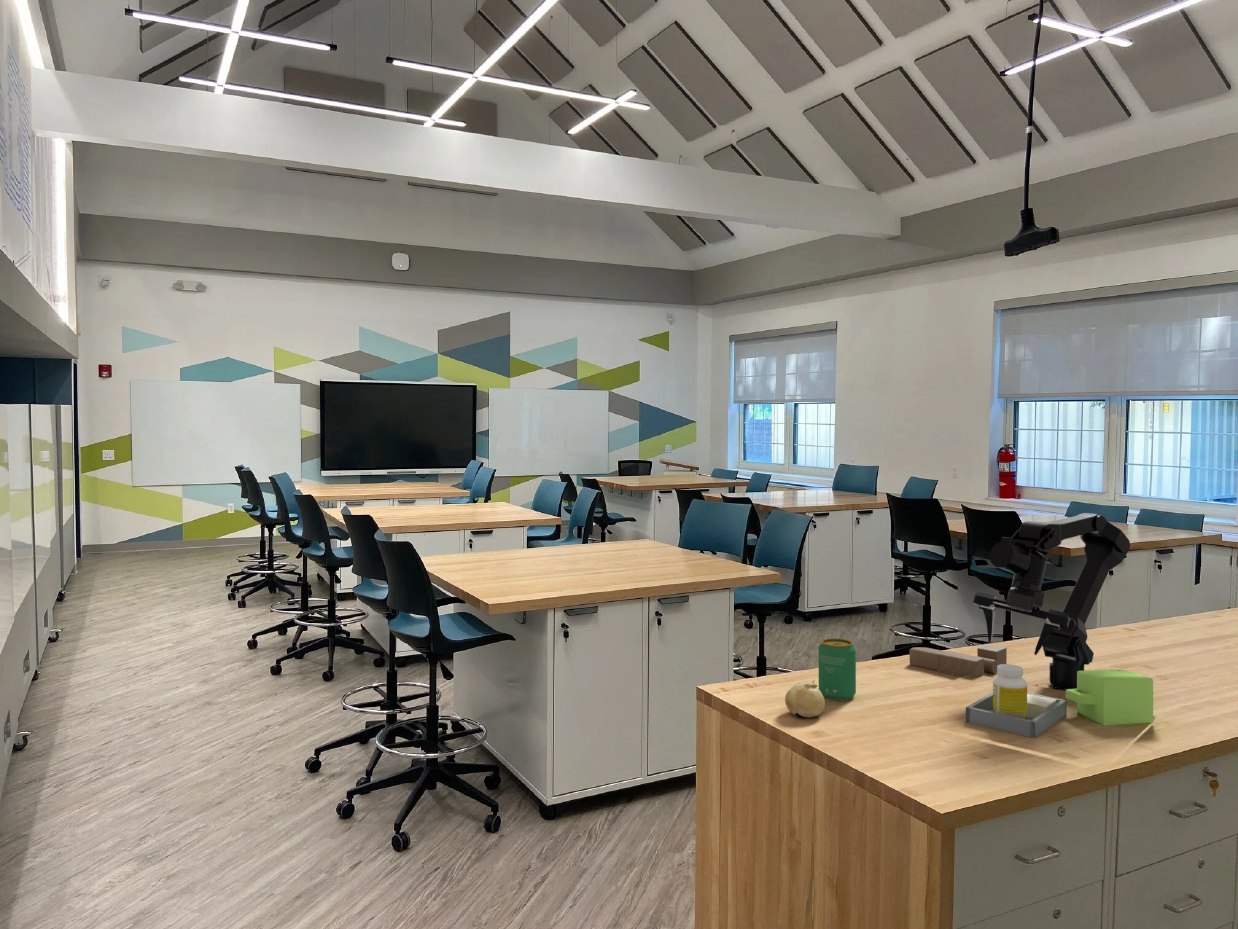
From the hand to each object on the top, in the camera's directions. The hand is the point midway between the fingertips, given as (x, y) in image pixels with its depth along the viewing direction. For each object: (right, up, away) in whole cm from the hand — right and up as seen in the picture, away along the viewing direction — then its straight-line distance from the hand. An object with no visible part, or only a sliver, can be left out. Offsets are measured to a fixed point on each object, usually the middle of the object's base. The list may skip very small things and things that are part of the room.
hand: (1012, 648), depth 185 cm
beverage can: (-37, -12, +5) cm, 39 cm away
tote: (-5, -12, -13) cm, 18 cm away
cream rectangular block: (-2, -11, -9) cm, 15 cm away
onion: (-46, -12, -7) cm, 49 cm away
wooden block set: (-1, -11, +27) cm, 29 cm away
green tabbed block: (+16, -12, -11) cm, 23 cm away
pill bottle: (-7, -12, -15) cm, 20 cm away
